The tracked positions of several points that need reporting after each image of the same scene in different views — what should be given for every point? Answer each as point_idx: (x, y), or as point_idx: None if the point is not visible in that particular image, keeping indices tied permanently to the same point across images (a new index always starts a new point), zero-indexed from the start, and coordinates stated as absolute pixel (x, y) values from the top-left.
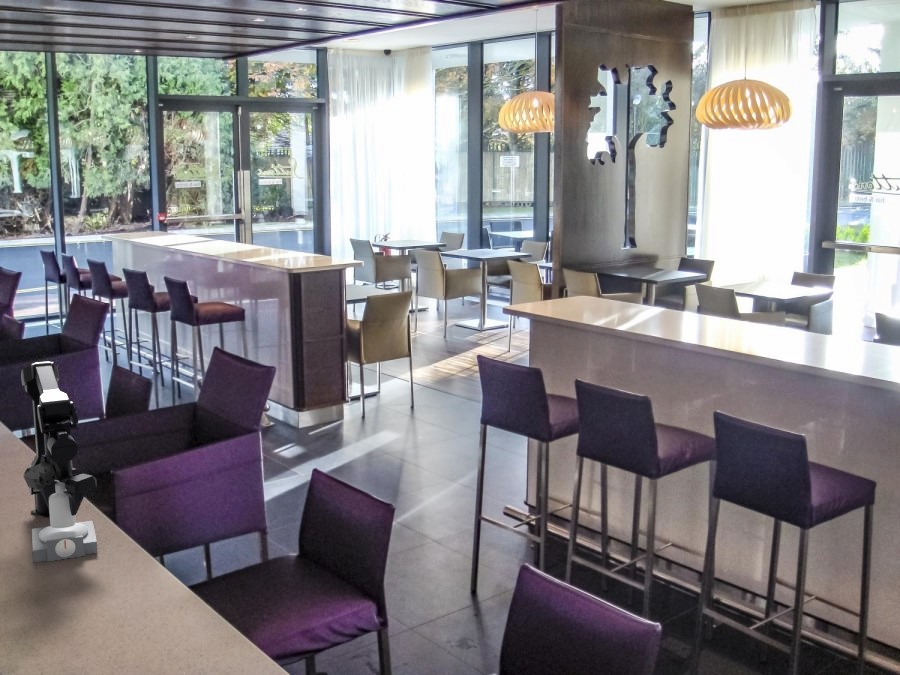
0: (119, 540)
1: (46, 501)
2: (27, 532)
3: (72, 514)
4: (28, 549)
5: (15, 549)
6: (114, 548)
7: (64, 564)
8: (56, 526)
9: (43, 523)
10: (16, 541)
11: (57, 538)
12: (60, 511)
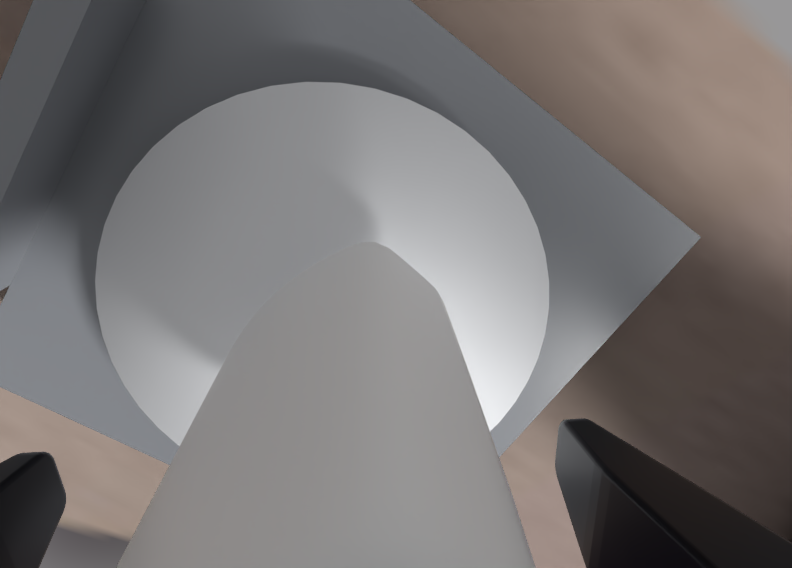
0: (136, 509)
1: (661, 494)
2: (782, 278)
3: (1, 465)
4: (535, 78)
5: (633, 13)
6: (34, 428)
7: (10, 43)
8: (308, 272)
9: (783, 419)
10: (744, 128)
11: (203, 173)
12: (209, 420)
